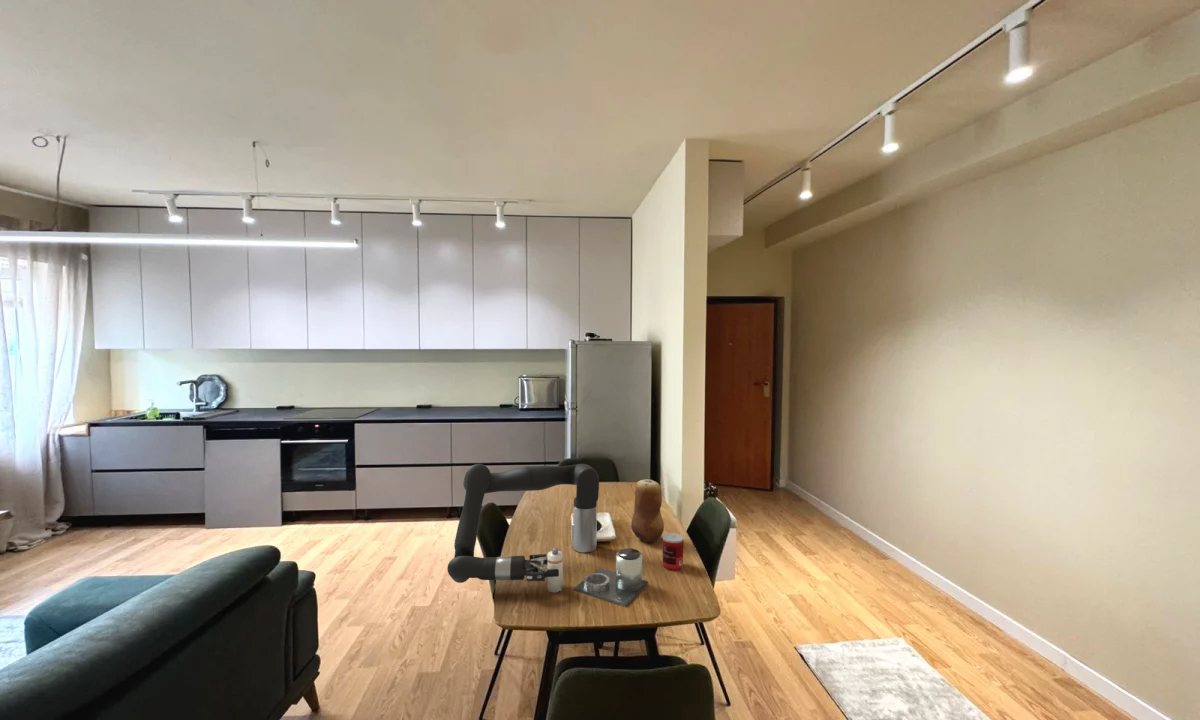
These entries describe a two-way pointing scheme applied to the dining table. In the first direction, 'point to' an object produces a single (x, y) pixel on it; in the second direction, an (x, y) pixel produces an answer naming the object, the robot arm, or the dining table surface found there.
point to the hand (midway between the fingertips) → (559, 566)
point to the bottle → (555, 563)
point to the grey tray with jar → (617, 579)
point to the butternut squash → (647, 511)
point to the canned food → (673, 551)
